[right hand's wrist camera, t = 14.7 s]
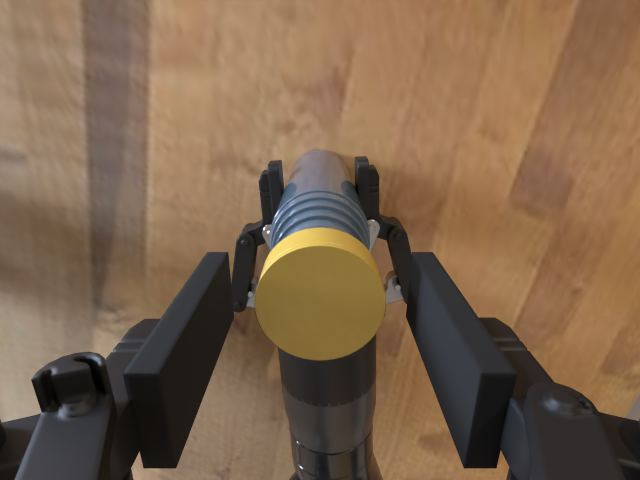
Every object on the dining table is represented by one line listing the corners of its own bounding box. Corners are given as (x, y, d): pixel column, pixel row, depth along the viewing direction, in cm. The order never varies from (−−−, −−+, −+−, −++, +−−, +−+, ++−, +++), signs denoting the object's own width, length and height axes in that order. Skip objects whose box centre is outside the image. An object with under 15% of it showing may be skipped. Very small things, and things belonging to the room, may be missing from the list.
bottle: (277, 181, 32) (221, 302, 14) (318, 136, 31) (315, 202, 12) (321, 220, 33) (324, 379, 15) (362, 178, 32) (420, 295, 14)
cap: (366, 338, 16) (371, 368, 14) (256, 323, 16) (248, 352, 14) (390, 236, 14) (399, 256, 13) (268, 218, 14) (261, 235, 12)
